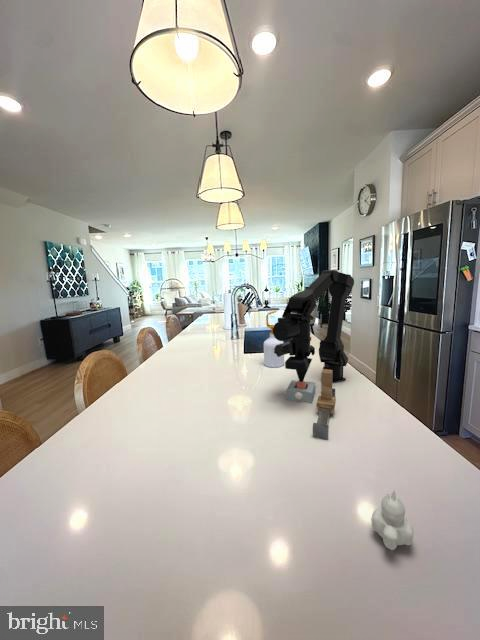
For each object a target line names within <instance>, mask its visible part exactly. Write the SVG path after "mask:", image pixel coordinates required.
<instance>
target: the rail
mask: <svg viewBox="0 0 480 640" xmlns="http://www.w3.org/2000/svg"><path fill="white" fill-rule="evenodd" d="M332 397H336V388H334V387H332ZM318 412H319V411H318ZM317 417H318V418H317V420H316V422H313V423H312V437H313V438H316V439H321V440H327V441H328V440H329V431H330V430H329V428H330V427H329V422H330V417H331V409H329V408H323V407H321V409H320V412H319V413H318V416H317Z"/></svg>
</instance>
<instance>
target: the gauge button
mask: <svg viewBox="0 0 480 640" xmlns="http://www.w3.org/2000/svg"><path fill="white" fill-rule="evenodd" d="M296 381H297V388H300V389H306V382H307V381H304V380H303V382H300V381H299V380H296Z"/></svg>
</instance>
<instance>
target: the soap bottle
mask: <svg viewBox="0 0 480 640" xmlns="http://www.w3.org/2000/svg"><path fill="white" fill-rule="evenodd" d="M277 312H278V310H277V309H276V310H272V311H270V312H268V313H267V314H266V316H265V317H266V320H265V322H266V323H265V324H266V327H267V328H269V329H270V330H271V331H270V332H269V337H268V338H267V339H266V340H264V341H263V364H264V366H266V367H268V368H281V367H283V366H285V355H281V356H280V357H277V354H275V353H274V348H275V347H276V345H279V344H282V343H285V341H279V340H277V339H276V338H275V336H274V334H273V328H274V325H275V324H269V315H271V314H275V313H277Z"/></svg>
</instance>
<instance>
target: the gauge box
mask: <svg viewBox="0 0 480 640" xmlns="http://www.w3.org/2000/svg"><path fill="white" fill-rule="evenodd" d="M297 381H298V380H296V379H295V380H293V379H291V381H290V383H289V384H288V386H287V387H286V390H285V391H286V393H285V394H286V400H289V401H294V402H299V403H300V402H301V403H307V404H312V403H313V401H314V398H315V396H316V383H315V382H311V381H305V382H306V389H300V388H297Z"/></svg>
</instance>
